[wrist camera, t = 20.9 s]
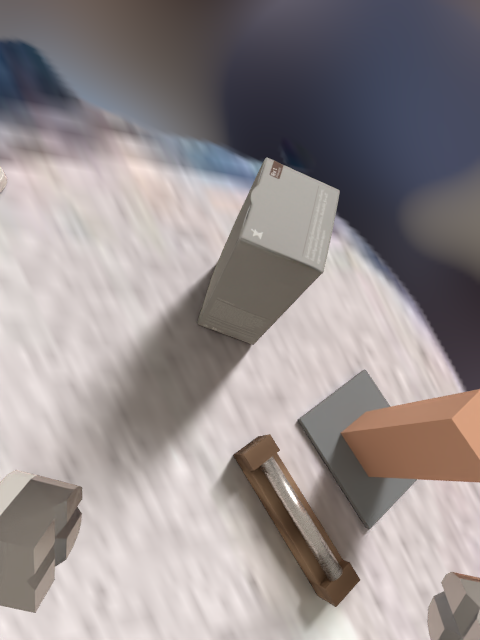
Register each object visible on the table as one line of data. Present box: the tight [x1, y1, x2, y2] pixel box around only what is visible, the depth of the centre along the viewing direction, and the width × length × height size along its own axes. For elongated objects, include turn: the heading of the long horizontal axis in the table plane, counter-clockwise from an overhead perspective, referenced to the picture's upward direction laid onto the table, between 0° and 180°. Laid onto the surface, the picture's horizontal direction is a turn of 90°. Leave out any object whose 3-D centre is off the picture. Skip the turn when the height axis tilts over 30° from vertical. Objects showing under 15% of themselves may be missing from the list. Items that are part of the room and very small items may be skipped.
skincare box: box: [197, 158, 340, 345], centre depth 34 cm, size 8×7×16 cm
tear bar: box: [233, 435, 360, 607], centre depth 34 cm, size 14×3×3 cm, turn 34°
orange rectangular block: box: [341, 389, 480, 482], centre depth 33 cm, size 5×4×14 cm
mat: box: [298, 370, 417, 529], centre depth 40 cm, size 12×10×1 cm
